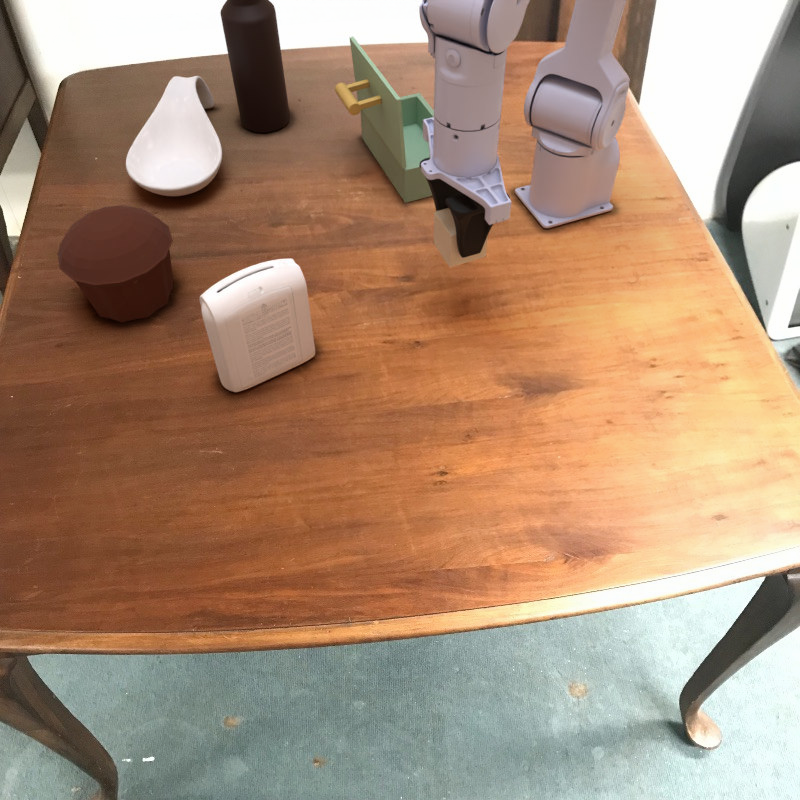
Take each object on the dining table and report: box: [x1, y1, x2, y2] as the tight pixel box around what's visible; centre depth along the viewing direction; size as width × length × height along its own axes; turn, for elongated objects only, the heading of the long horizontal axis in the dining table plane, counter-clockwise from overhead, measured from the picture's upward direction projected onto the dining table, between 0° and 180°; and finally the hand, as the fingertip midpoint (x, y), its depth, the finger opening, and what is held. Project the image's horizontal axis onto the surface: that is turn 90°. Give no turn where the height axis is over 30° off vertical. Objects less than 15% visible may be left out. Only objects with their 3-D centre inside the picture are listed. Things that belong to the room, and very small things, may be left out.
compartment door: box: [334, 35, 406, 168], centre depth 92 cm, size 9×15×5 cm
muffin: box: [57, 204, 174, 323], centre depth 82 cm, size 12×11×10 cm
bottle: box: [219, 0, 291, 134], centre depth 99 cm, size 7×7×20 cm
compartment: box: [360, 92, 434, 204], centre depth 99 cm, size 8×15×5 cm, turn 22°
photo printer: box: [199, 258, 316, 393], centre depth 74 cm, size 10×4×12 cm, turn 123°
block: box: [433, 208, 489, 268], centre depth 76 cm, size 4×4×4 cm
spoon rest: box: [125, 75, 223, 197], centre depth 99 cm, size 24×12×7 cm, turn 3°
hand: (460, 239), depth 76 cm, fingers closed on block, 4 cm apart
